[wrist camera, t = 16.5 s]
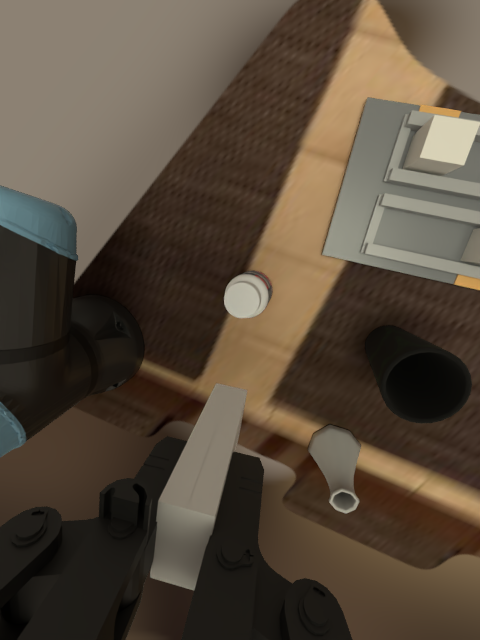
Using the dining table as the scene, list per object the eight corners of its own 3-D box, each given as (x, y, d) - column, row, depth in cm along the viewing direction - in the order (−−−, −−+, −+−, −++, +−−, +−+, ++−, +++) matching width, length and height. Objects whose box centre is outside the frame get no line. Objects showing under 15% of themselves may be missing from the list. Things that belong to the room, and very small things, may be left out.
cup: (377, 307, 38) (412, 333, 26) (431, 334, 37) (491, 373, 26) (345, 355, 40) (365, 399, 29) (396, 382, 40) (437, 437, 28)
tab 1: (401, 170, 33) (419, 157, 28) (413, 134, 32) (434, 114, 27) (439, 177, 32) (464, 165, 27) (452, 141, 31) (480, 122, 26)
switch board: (321, 254, 37) (323, 255, 35) (365, 102, 33) (371, 89, 30) (532, 302, 34) (552, 306, 32) (614, 142, 30) (645, 132, 27)
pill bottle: (279, 279, 39) (274, 288, 31) (263, 314, 41) (255, 332, 32) (243, 264, 40) (228, 268, 31) (229, 298, 41) (211, 312, 33)
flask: (338, 475, 45) (350, 537, 35) (299, 448, 45) (300, 503, 35) (369, 443, 43) (391, 500, 33) (328, 415, 43) (337, 464, 33)
